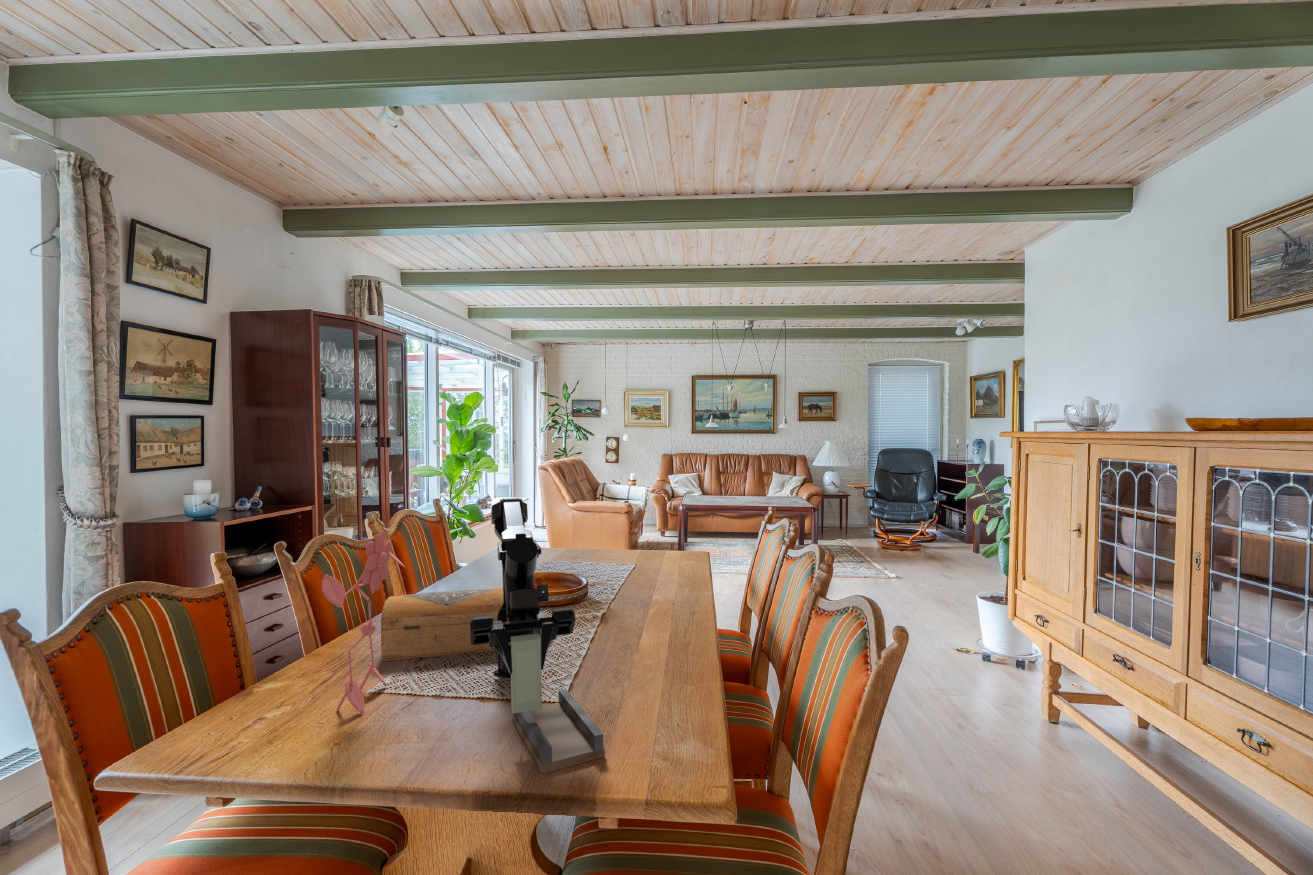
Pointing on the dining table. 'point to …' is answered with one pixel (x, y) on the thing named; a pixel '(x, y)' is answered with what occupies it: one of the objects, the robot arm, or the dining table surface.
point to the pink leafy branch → (374, 574)
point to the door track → (560, 734)
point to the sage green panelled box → (526, 673)
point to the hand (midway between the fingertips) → (526, 670)
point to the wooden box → (435, 622)
